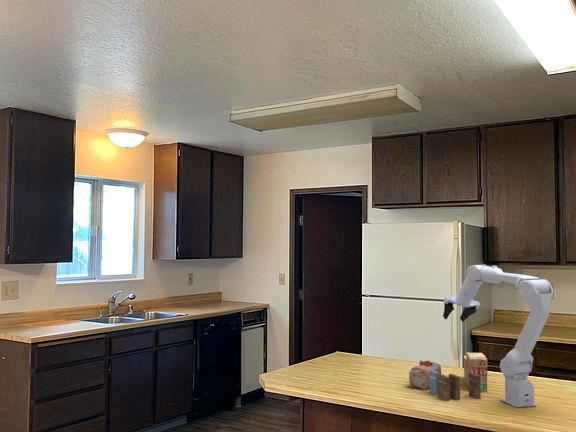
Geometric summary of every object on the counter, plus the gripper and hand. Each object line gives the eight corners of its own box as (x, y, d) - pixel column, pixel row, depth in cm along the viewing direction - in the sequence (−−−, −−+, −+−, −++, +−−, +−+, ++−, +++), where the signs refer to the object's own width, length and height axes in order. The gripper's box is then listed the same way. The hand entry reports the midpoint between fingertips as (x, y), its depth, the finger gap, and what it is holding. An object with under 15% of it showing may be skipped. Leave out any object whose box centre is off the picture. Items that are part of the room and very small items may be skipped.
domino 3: (472, 395, 208) (472, 372, 208) (480, 398, 203) (480, 375, 203) (468, 395, 208) (468, 373, 208) (476, 398, 203) (476, 376, 203)
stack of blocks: (463, 378, 234) (463, 348, 235) (479, 379, 233) (479, 348, 234) (470, 391, 213) (469, 358, 214) (487, 392, 212) (487, 358, 213)
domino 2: (452, 396, 206) (452, 373, 206) (460, 400, 201) (460, 376, 202) (448, 396, 206) (448, 374, 206) (456, 400, 201) (455, 377, 201)
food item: (426, 391, 213) (426, 364, 213) (407, 387, 218) (407, 361, 219) (443, 385, 223) (443, 359, 223) (425, 381, 228) (425, 356, 229)
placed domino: (433, 392, 212) (433, 370, 212) (440, 395, 207) (439, 373, 207) (429, 392, 212) (429, 370, 212) (436, 395, 207) (435, 373, 207)
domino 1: (442, 396, 205) (442, 374, 206) (449, 400, 200) (449, 377, 201) (438, 397, 205) (438, 374, 205) (445, 400, 200) (445, 377, 200)
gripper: (479, 287, 224) (465, 314, 230) (447, 282, 220) (433, 309, 227) (487, 299, 218) (472, 326, 224) (454, 294, 214) (439, 321, 221)
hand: (453, 318), depth 225 cm, fingers open, 7 cm apart
